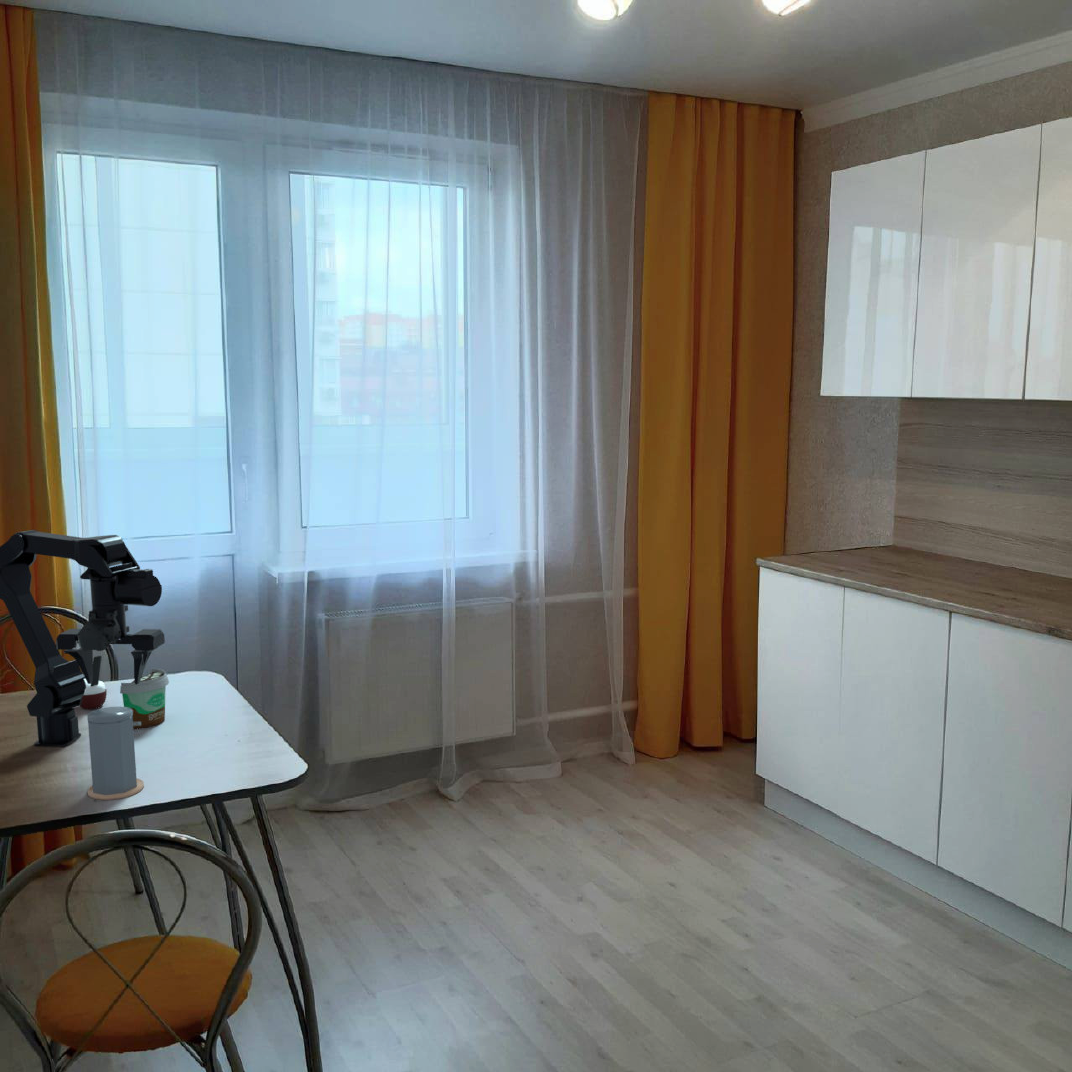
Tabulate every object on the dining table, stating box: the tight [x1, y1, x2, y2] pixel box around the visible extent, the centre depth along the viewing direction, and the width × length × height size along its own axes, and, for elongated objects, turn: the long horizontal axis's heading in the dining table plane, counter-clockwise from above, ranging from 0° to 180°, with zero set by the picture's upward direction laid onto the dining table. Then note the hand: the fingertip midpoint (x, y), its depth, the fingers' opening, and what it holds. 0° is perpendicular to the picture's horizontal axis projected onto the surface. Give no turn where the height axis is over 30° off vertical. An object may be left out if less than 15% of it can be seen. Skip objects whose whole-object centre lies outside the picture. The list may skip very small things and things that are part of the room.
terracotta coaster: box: [87, 777, 145, 801], centre depth 184 cm, size 9×9×1 cm
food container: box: [119, 667, 170, 731], centre depth 219 cm, size 12×6×10 cm, turn 168°
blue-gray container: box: [86, 706, 138, 795], centre depth 183 cm, size 7×7×13 cm
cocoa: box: [79, 655, 107, 711], centre depth 230 cm, size 10×6×12 cm, turn 24°
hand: (113, 683), depth 202 cm, fingers open, 9 cm apart
